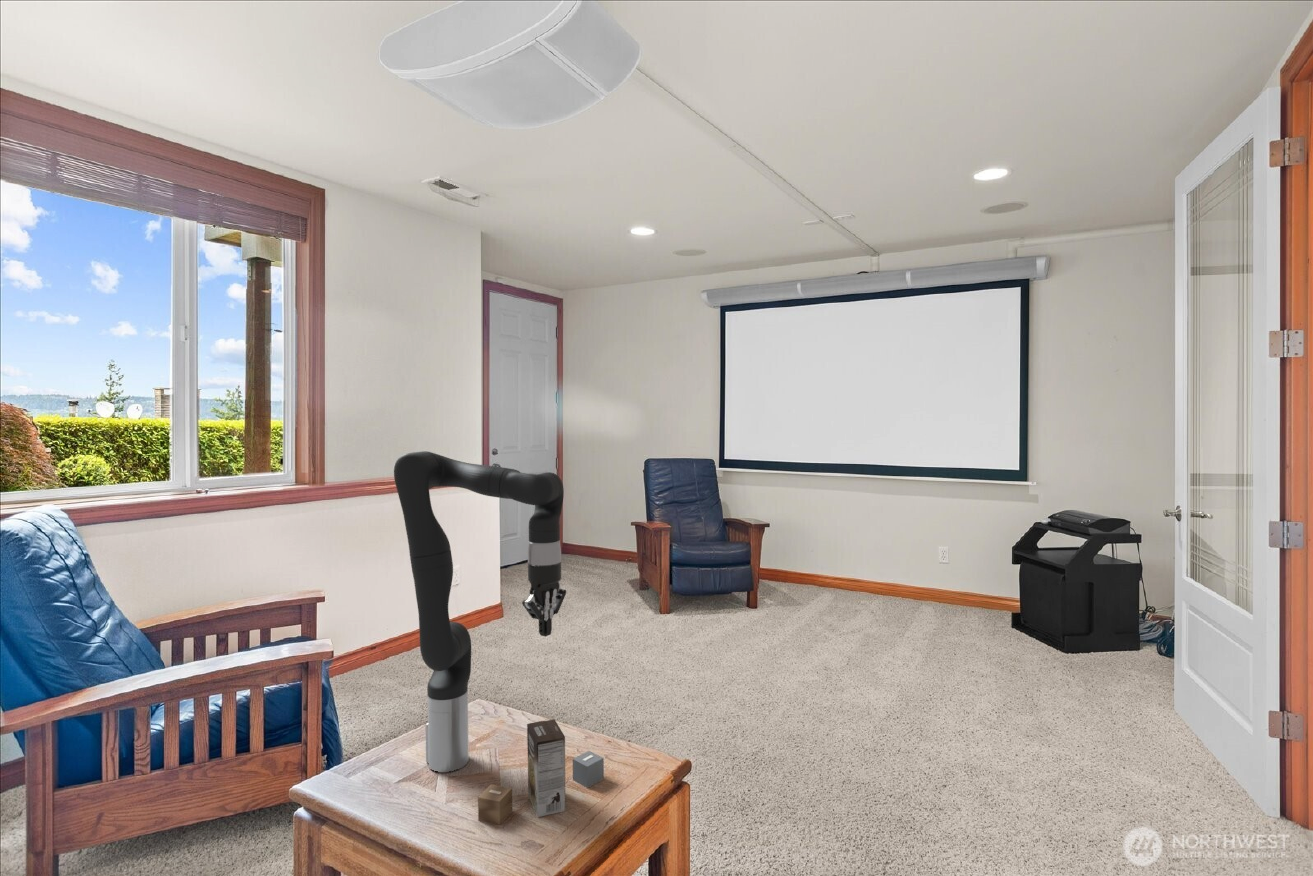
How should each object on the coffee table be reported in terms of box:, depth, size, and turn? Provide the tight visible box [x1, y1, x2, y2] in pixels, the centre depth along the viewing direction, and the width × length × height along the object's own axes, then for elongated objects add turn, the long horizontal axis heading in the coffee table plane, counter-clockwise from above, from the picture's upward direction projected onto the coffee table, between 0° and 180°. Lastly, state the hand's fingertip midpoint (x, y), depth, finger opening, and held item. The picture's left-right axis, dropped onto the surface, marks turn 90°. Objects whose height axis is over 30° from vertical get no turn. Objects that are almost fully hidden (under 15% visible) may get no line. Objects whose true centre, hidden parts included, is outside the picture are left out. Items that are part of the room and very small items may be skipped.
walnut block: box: [477, 784, 513, 826], centre depth 137 cm, size 5×5×5 cm
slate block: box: [572, 750, 605, 789], centre depth 150 cm, size 5×5×5 cm
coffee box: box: [526, 718, 566, 818], centre depth 141 cm, size 9×6×16 cm
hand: (545, 635), depth 151 cm, fingers closed
